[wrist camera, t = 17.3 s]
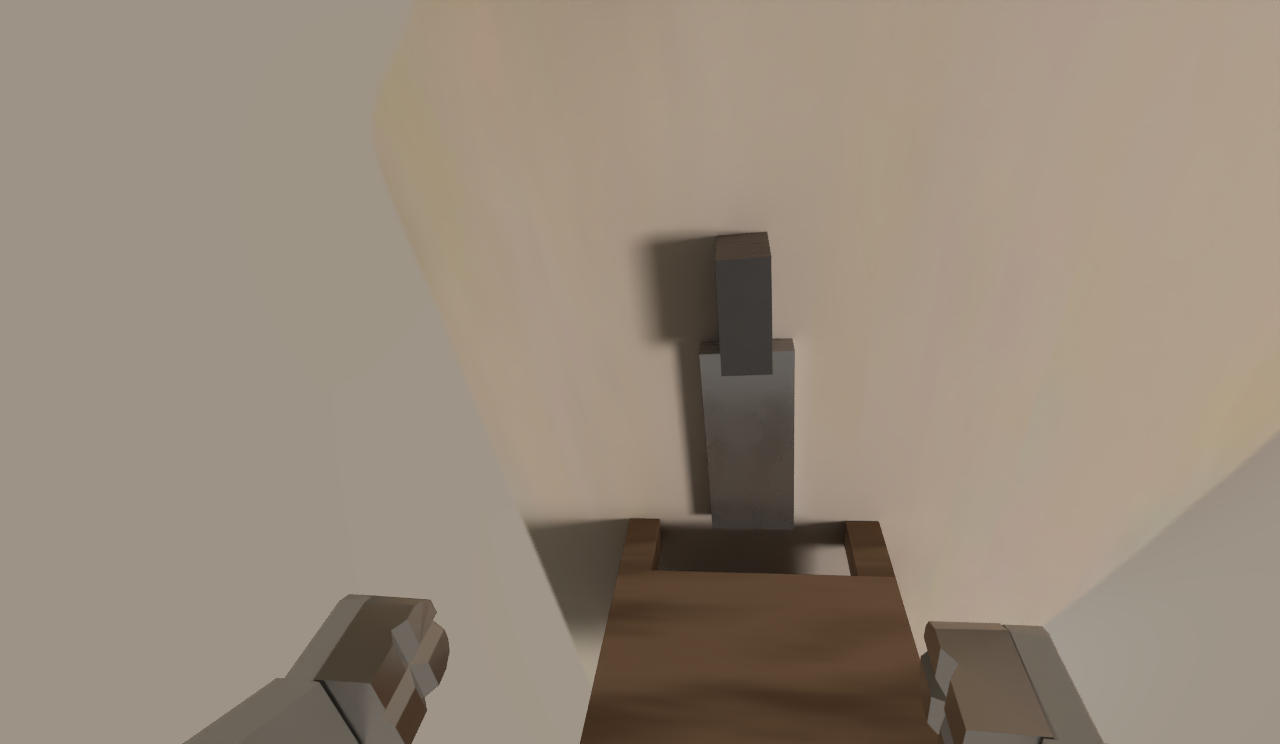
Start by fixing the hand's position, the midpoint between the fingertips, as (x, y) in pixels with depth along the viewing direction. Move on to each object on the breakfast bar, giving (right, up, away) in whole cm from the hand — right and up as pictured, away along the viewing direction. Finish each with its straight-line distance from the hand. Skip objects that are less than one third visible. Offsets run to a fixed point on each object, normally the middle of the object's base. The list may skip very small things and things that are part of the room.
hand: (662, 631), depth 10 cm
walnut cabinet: (+7, -10, +32) cm, 34 cm away
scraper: (+6, +3, +25) cm, 26 cm away
